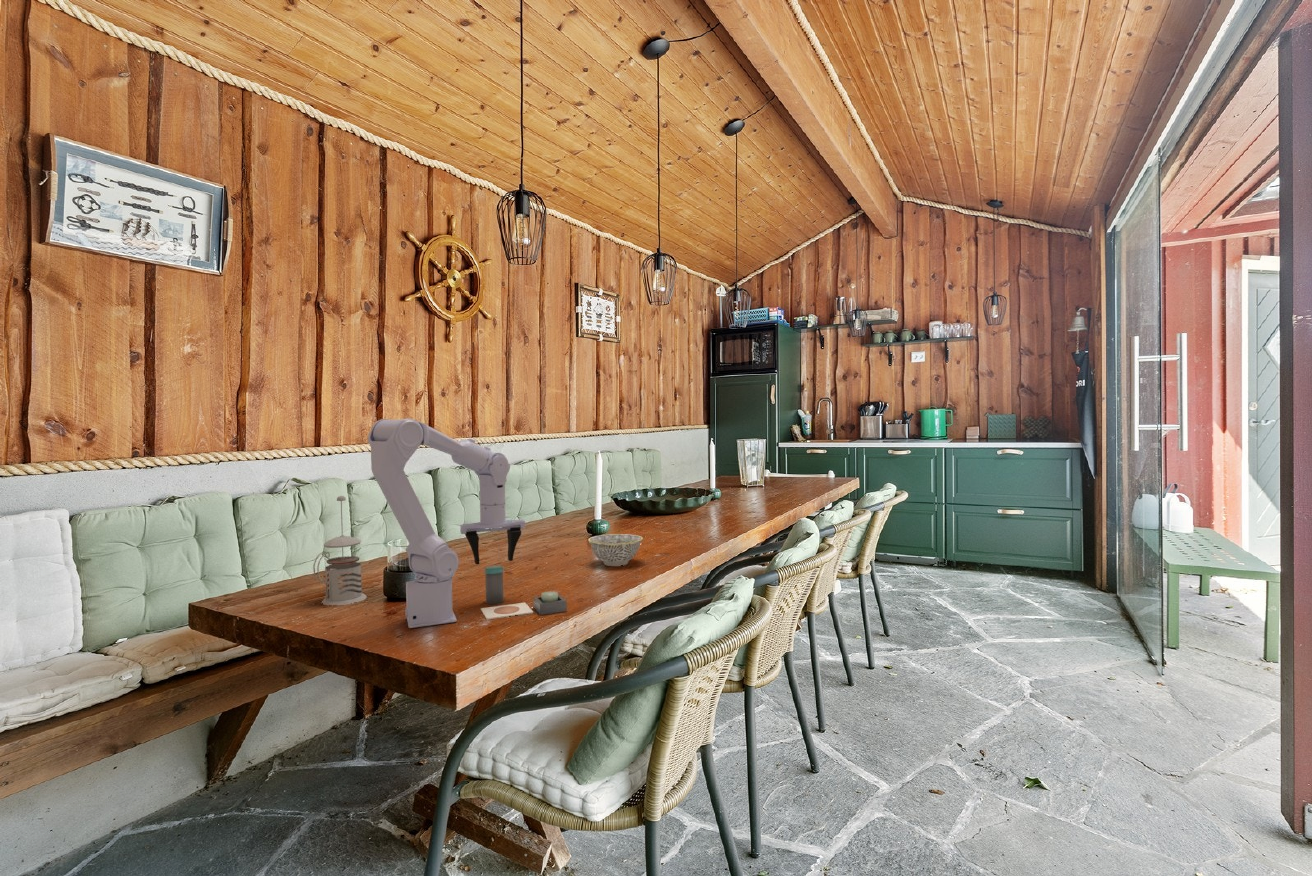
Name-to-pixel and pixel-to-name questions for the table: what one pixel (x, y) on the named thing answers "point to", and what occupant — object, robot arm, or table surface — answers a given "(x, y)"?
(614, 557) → the bowl
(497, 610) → the paper
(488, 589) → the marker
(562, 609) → the button base
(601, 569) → the table surface
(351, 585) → the french press
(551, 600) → the button
